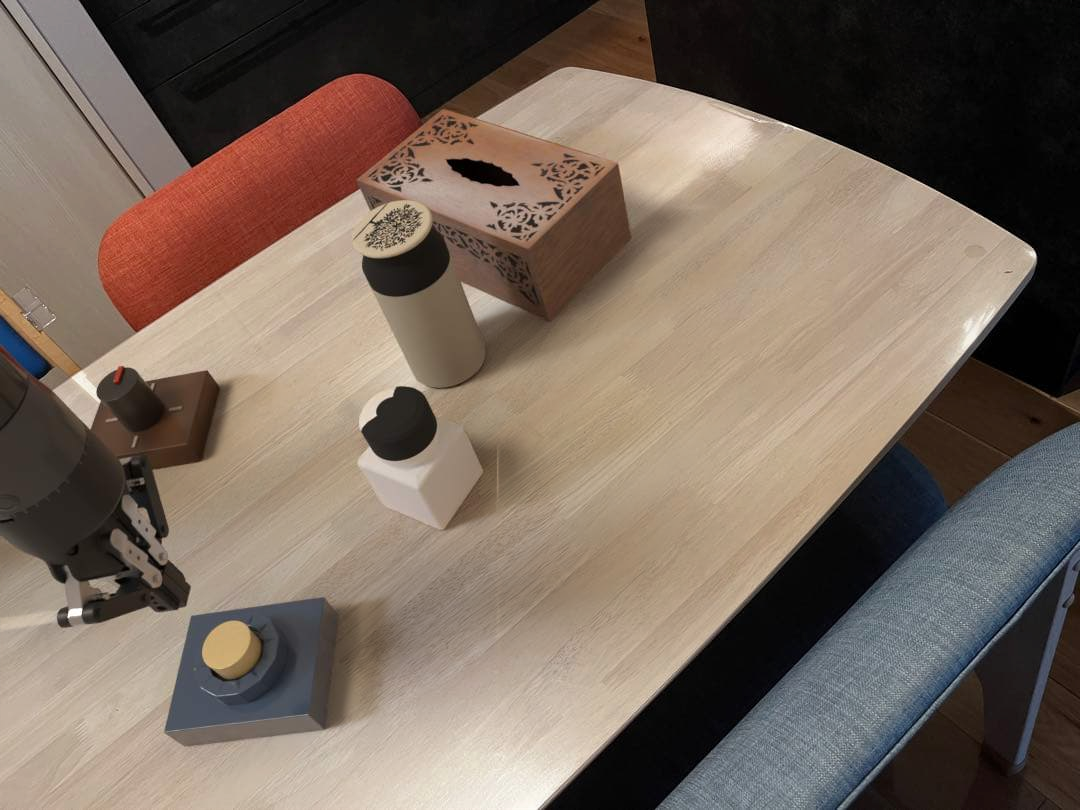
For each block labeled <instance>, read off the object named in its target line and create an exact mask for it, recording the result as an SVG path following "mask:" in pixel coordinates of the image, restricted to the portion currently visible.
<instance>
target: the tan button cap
mask: <svg viewBox="0 0 1080 810" xmlns="http://www.w3.org/2000/svg"><path fill="white" fill-rule="evenodd" d="M261 652H262V644H261V640H260V639H259V637H258V636H257V635H256V634H255V633H254V632H253V631H252V630H251V629H250V628H249V627H248V626H247V625H246V624H244V623H243V622H240V621H228V622H225V623H222V624H220V625H219V626H217V627H216V628H215V629H214V630H212V631H211V633H210V634H209V635H208V636H207V638H206V640H205V642H204V644H203V648H202V657H203V660H204V662H205V663H206V664H207V665H208V666H209V667H210V668H211V669H212V670H213V671H215V672H216V673H217V674H218V675H219V676H221V677H223V678H225V679H236V678H240V677H242V676H244V675H246V674H247V673H248V672H250V671H251V670H252V669H253V668H254V667H255V665H256V664H257V662H258V661H259V659H260V656H261Z"/></svg>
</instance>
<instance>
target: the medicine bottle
mask: <svg viewBox="0 0 1080 810" xmlns="http://www.w3.org/2000/svg"><path fill="white" fill-rule="evenodd" d="M358 427H359V430H360V433H361V434H362V436H363V438H364V440H365V441H366V443H367V444H368V447H367V448H366V449H365V451H364V452H363V453H362V454H361V456H360V457H359V458H358V460H357V466H358V468H359V470H360V471H361V472H362V475H363V476H364V478H365V479H366V481H367V483H368V484H369V485H370V487H371V489H372V490H373V491H374V493H375V495H376V496H377V498H378V500H379V501H380V503H381V504H382V506H383V507H385V508H387V509H390V510H392V511H394V512H396V513H398V514H401V515H404V516H405V517H408V518H410V519H413V520H415V521H417V522H420V523H421V524H425V525H426V526H428V527H432V528H434V529H435V530H439V531H444V530H445V529H446V528H447V526H448V525H449V523H450V522H451V520H452V519H453V518H454V516H455V515H456V513H457V511H459V509H460V507H461V506H462V504H463V503H464V501H465V500H466V498H467V497H468V495H469V494H470V493H471V491H473V488H474V487H475V485H476V484H477V482H478V481H479V479H480V478H481V477H482V475H483V474H484V468H483V466H482V464H481V462H480V460H479V457H478V456H477V453H476V450H475V449H474V446H473V445H472V442H471V440H470V437H469V435H468V433H467V431H466V429H465V426H463V425H462V424H459V423H456V422H453V421H451V420H448V419H445V418H442V417H440V416H437V415H435V413H434V411H433V409H432V407H431V405H430V402H429V401H428V399H427V397H426V396H425V394H424V393H423V392H422V391H421V390H419V389H417V388H414V387H412V386H407V385H406V386H405V385H398V386H396V385H395V386H391V387H388V388H386V389H383V390H381V391H379V392H377V393H376V394H374V395H373V396H372V397H371V398H370V399H369V400H368V401H367V402H366V403H365V404H364V406H363V407H362V410H361V412H360V414H359V418H358Z"/></svg>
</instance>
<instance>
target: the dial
mask: <svg viewBox="0 0 1080 810" xmlns="http://www.w3.org/2000/svg"><path fill="white" fill-rule="evenodd" d="M95 390H96V391H95V393H96V397H97V398H98V399H99V401H100V402H101V401H102V403H103V404H104V405H105V406H106V407H107V408H108V409H109V410H110V411H111V412H112V413H113V415H114V416H115V417H116V418H117V419H118V420H119V421H120V422H121V423H122V424H123V425H124V427H125V428H126V429H128V430H130V431H141V430H144V429H146V428H148V427H150V426H152V425H153V424H154V423H155V422H157V420H158V419H159V418H160V417H161V415H162V413H163V410H164V405H163V402H162V401H161V400H160V399H159V397H158V396H157V395H156V394H155V393H154V391H153V390H152V389H151V388H150V387H149V385H148V384H147V383H146V382H145V380H144V378H143V377H142V376H141V375H140V374H139V372H138V371H137V370H136V369H134V368H132V367H130V366H129V367H128V366H127V367H126V366H124V365H119V366H118V367H117V369H115V370H113V371H111V372H109V373H108V374H106V375H105V376H104V377H102V379H101V380H100V382H99V383H98V385H97V387H96V389H95Z"/></svg>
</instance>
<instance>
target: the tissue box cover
mask: <svg viewBox="0 0 1080 810" xmlns="http://www.w3.org/2000/svg"><path fill="white" fill-rule="evenodd" d="M620 171H621V170H620V166H619V163H618V162H617V161H613V160H610V159H607V158H603V157H601V156H597V155H594V154H591V153H588V152H584V151H581V150H578V149H575V148H572V147H568V146H565V145H562V144H560V143H556V142H552V141H549V140H546V139H542V138H540V137H536V136H533V135H530V134H528V133H525V132H524V133H523V132H521V131H518V130H514V129H512V128H507V127H504V126H501V125H498V124H495V123H492V122H488V121H486V120H483V119H479V118H476V117H472V116H470V115H466V114H463V113H460V112H457V111H454V110H450V109H447V108H443V107H442V109H440V111H438V112H436V113H435V114H434V115H433V116H432V117H431V118H430V119H428V120H427V121H426V122H425V123H424V124H422V125H421V126H420V127H419V128H417V129H416V130H415V131H414V132H413V133H411V134H410V135H409V136H408V137H407V138H405V139H404V140H403V141H402V142H400V143H399V144H398V145H397V146H395V147H394V148H393V149H391V150H390V151H389V152H388V153H386V155H385V156H383V157H382V158H381V159H380V160H379V161H377V162H376V163H375V164H374V165H372V166H371V167H370V168H368V170H367V171H365V172H364V173H363V174H362V175H360V176H359V177H358V178H357V179H356V183H357V185H358V187H359V190H360V192H361V193H362V196H363V198H364V200H365V202H366V205H367V207H368V209H369V212H370V211H372V210H373V209H375V208H377V207H379V206H381V205H384V204H386V203H390V202H394V201H400V200H411V201H416V202H419V203H422V204H423V205H425V206H426V207H427V208H428V209H429V210H430V212H431V214H432V218H433V222H432V227H433V228H434V229H436V230H437V231H439V232H440V233H441V234H442V236H443V238H444V240H445V243H446V245H447V248H448V250H449V253H450V256H451V258H452V261H453V263H454V266H455V269H456V271H457V274H458V276H459V279H460V282H461V283H463V284H465V285H467V286H470V287H472V288H474V289H476V290H479V291H481V292H483V293H484V294H485V293H486V294H488V295H490V296H492V297H494V298H496V299H499V300H500V301H502V302H505V303H507V304H509V305H511V306H514V307H516V308H518V309H521V310H522V311H525V312H527V313H529V314H532V315H534V316H536V317H538V318H540V319H542V320H544V321H546V322H551V321H552V320H553V319H554V318H555V317H557V315H559V313H560V312H561V311H562V310H563V309H564V308H565V307H566V306H567V305H568V304H569V303H570V302H571V301H572V300H573V298H575V296H577V295H578V293H580V291H582V289H583V288H585V286H587V284H588V283H589V282H590V281H591V280H592V279H593V278H594V277H595V276H596V275H597V274H598V273H599V272H601V270H602V269H603V268H604V267H605V266H606V265H607V264H608V263H609V262H610V261H611V260H612V259H613V258H614V257H615V256H616V255H617V253H619V252H620V250H622V249H623V248H624V246H625V245H626V244H627V243H628V242H629V241H631V239H632V231H631V225H630V221H629V215H628V210H627V205H626V199H625V194H624V188H623V183H622V177H621V172H620Z"/></svg>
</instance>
